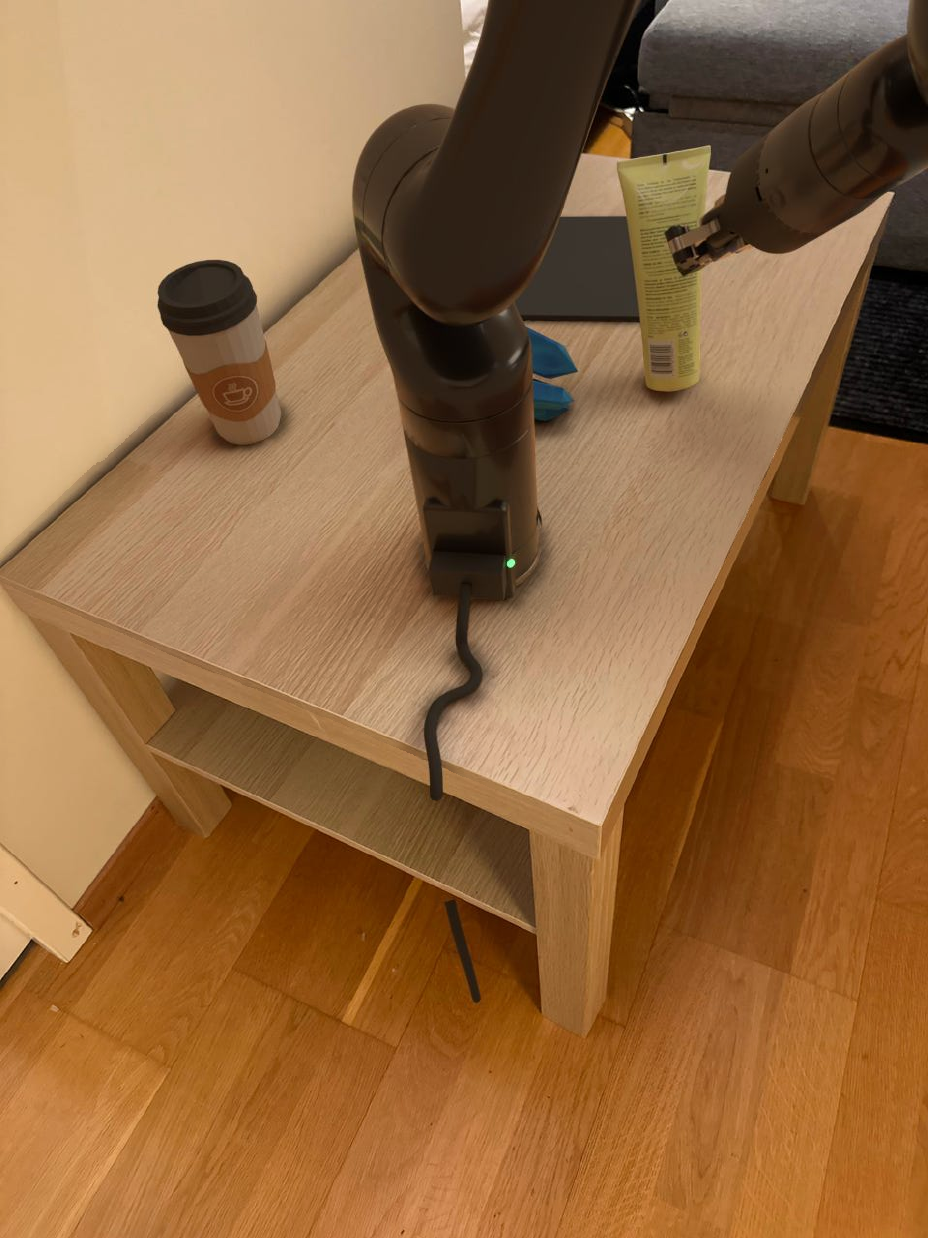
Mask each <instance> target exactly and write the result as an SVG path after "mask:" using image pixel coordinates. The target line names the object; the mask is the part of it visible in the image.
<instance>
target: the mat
mask: <svg viewBox="0 0 928 1238" xmlns="http://www.w3.org/2000/svg"><path fill="white" fill-rule="evenodd" d="M515 304H516V306H517V309H518V311H519V313H520V315H521V318H522V320H523V321H574V322H575V321H577V322H578V321H579V322H581V321H582V322H583V321H585V322H587V321H588V322H640V317H639V307H638V298H637V289H636V281H635V273H634V265H633V257H632V250H631V243H630V236H629V229H628V223H627V217H626V215H622V216H621V215H620V216H619V215H614V216H613V215H610V216H608V215H605V216H604V215H603V216H600V215H598V216H593V215H592V216H560V219H559V222H558V225H557V227H556V230H555V233H554V235H553V238H552V240H551V243H550V245H549V248H548V250H547V252H546V254H545V257H544V259H543V261H542V263H541V265H540V267H539V269H538V270H537V272H536V274H535V276H534V277H533V279H532V280H531V282H530V283H529V284H528V286H527V287H526V289H525V290H524V291H523V293H522V294H521V295H520V296H519V297H518V298H517V299H516V300H515Z"/></svg>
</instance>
